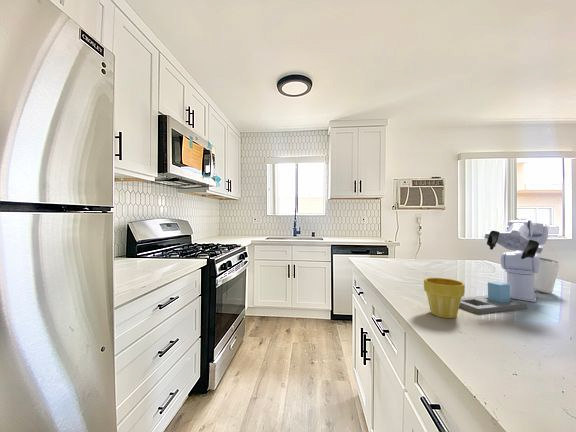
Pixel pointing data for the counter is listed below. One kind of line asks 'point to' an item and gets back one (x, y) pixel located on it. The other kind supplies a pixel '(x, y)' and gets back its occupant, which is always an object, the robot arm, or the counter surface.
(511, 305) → the holder plate
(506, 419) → the counter surface
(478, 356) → the counter surface
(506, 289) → the plug
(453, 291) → the plant pot
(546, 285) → the can
